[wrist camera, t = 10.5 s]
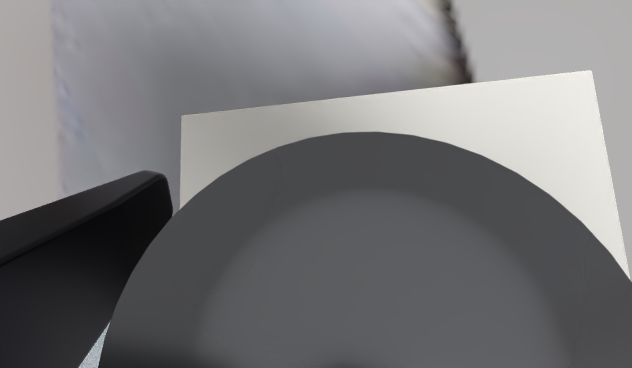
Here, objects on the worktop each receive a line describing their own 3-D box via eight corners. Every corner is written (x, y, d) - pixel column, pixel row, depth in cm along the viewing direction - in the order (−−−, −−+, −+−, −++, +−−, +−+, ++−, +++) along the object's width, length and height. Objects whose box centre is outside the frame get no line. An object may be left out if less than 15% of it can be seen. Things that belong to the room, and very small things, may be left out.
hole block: (610, 500, 13) (685, 578, 10) (223, 487, 15) (172, 548, 12) (549, 114, 16) (591, 70, 12) (222, 145, 17) (181, 115, 14)
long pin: (463, 326, 15) (859, 638, 2) (365, 371, 15) (202, 884, 2) (412, 229, 16) (481, 42, 3) (320, 272, 16) (33, 267, 3)
